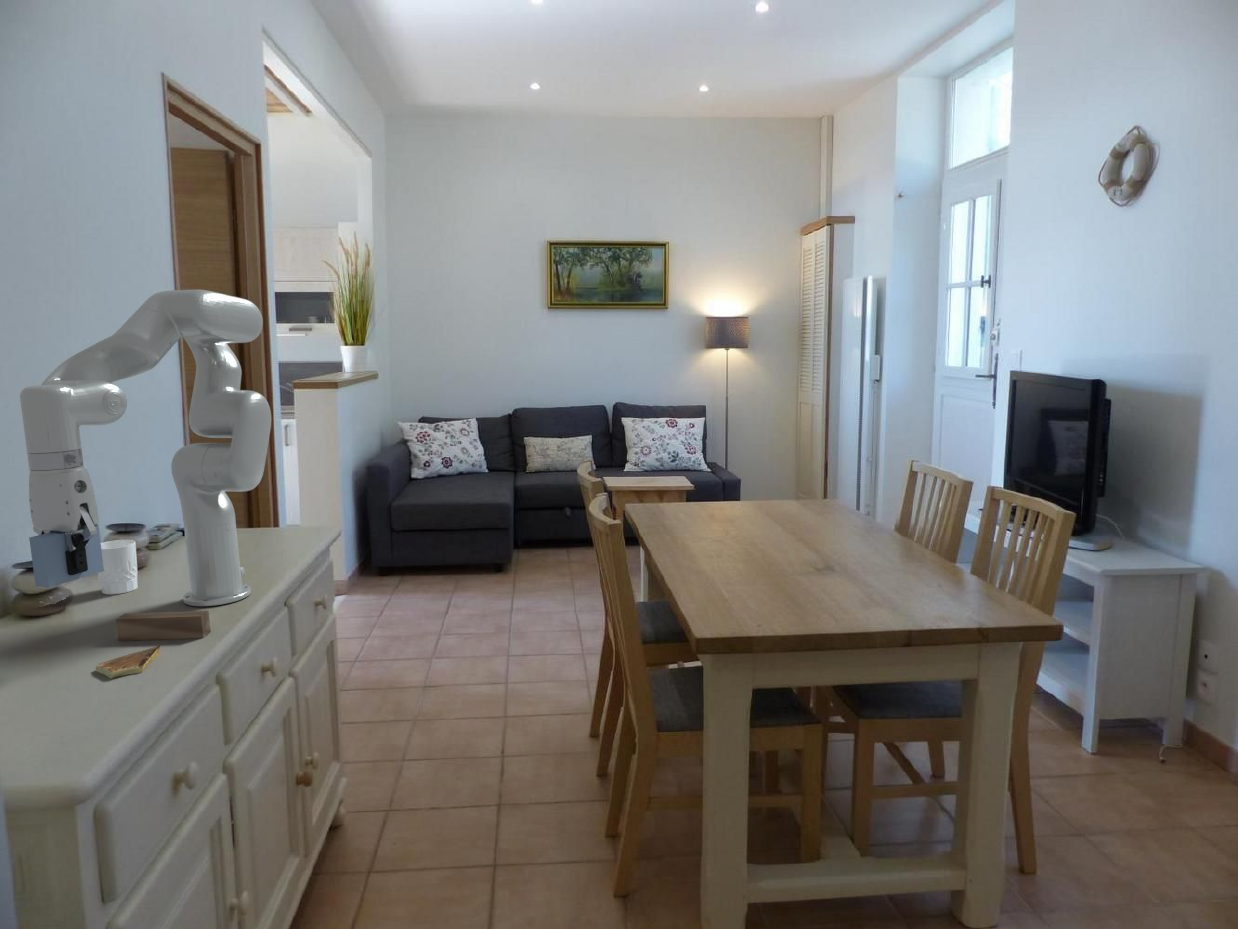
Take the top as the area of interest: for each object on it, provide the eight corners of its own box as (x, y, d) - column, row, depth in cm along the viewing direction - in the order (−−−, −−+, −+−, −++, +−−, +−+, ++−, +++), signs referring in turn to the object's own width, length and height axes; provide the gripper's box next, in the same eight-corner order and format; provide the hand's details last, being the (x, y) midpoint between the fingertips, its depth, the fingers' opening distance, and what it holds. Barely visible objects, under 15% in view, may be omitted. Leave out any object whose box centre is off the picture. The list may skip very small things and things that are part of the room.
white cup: (103, 598, 188) (96, 551, 186) (95, 590, 194) (89, 544, 192) (145, 590, 193) (139, 544, 191) (136, 582, 199) (130, 537, 197)
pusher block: (35, 586, 146) (29, 537, 145) (91, 569, 155) (85, 523, 154) (49, 587, 145) (42, 538, 144) (104, 571, 154) (98, 524, 153)
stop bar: (127, 634, 165) (124, 613, 164) (210, 631, 165) (208, 610, 164) (118, 640, 162) (115, 619, 161) (203, 637, 162) (201, 616, 161)
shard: (162, 652, 157) (160, 643, 156) (183, 662, 152) (182, 652, 152) (94, 673, 148) (93, 662, 148) (115, 684, 144) (114, 673, 143)
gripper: (113, 459, 148) (126, 569, 151) (42, 457, 154) (55, 563, 156) (71, 466, 141) (85, 582, 144) (-2, 463, 147) (13, 574, 150)
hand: (69, 571), depth 150 cm, fingers closed on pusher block, 3 cm apart
